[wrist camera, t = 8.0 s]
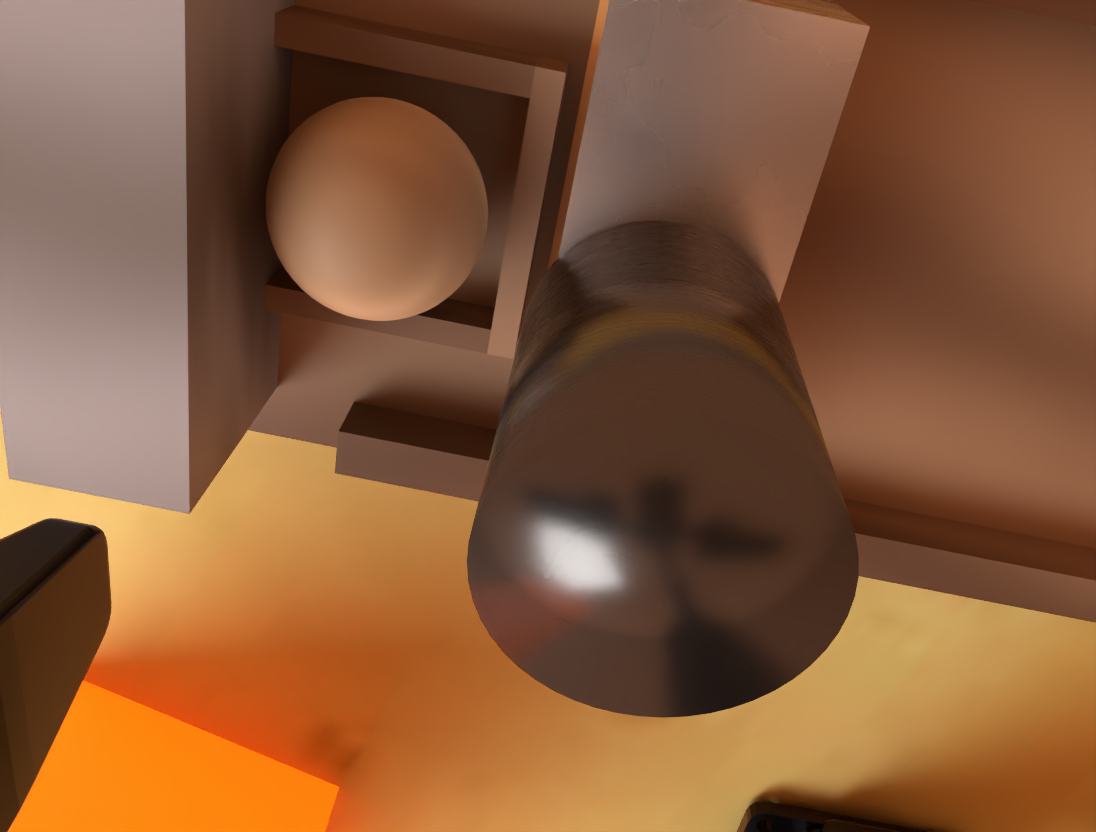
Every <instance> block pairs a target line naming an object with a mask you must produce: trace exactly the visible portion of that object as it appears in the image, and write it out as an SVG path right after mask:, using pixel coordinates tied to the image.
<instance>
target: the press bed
mask: <svg viewBox="0 0 1096 832" xmlns="http://www.w3.org/2000/svg"><path fill="white" fill-rule="evenodd" d="M831 1H833V2H834V3H836V4H837V5H839V6H840V7H842V8H843V9H845V10H846V11H848V12H849V13H851V14H852V15H854V16H855V17H857V18H858V19H860V20H861V21H863V22H864V23H866V24H867V25H869V26H870V29H869V32H868V35H867V38H866V41H865V44H864V47H863V50H862V53H861V56H860V59H859V62H858V65H857V68H856V71H855V74H854V77H853V80H852V83H851V86H850V89H849V92H848V95H847V98H846V101H845V104H844V107H843V110H842V113H841V116H840V119H839V122H838V125H837V128H836V132H835V135H834V138H833V141H832V144H831V147H830V150H829V153H828V156H827V159H826V162H825V165H824V168H823V171H822V174H821V177H820V180H819V183H818V186H817V189H816V192H815V195H814V198H813V201H812V204H811V207H810V210H809V213H808V216H807V219H806V222H805V225H804V228H803V231H802V234H801V237H800V240H799V243H798V246H797V249H796V252H795V255H794V258H793V261H792V264H791V267H790V271H789V274H788V277H787V280H786V283H785V286H784V289H783V292H782V295H781V298H780V301H779V306H780V309H781V312H782V315H783V318H784V321H785V324H786V327H787V330H788V333H789V336H790V339H791V342H792V345H793V348H794V351H795V354H796V357H797V360H798V363H799V366H800V369H801V372H802V375H803V378H804V381H805V384H806V387H807V390H808V393H809V396H810V399H811V402H812V405H813V408H814V411H815V414H816V417H817V420H818V423H819V426H820V429H821V432H822V435H823V438H824V441H825V445H826V448H827V451H828V454H829V457H830V460H831V463H832V466H833V469H834V472H835V475H836V478H837V481H838V484H839V487H840V490H841V493H842V496H843V499H844V502H845V505H846V508H847V511H848V514H849V517H850V520H851V523H852V526H853V529H854V532H855V535H856V542H857V548H858V554H859V574H858V576H862V577H867V578H872V579H877V580H882V581H887V582H892V583H897V584H903V585H908V586H913V587H918V588H923V589H928V590H933V591H938V592H943V593H948V594H953V595H959V596H964V597H969V598H974V599H979V600H984V601H989V602H994V603H999V604H1004V605H1010V606H1015V607H1020V608H1025V609H1030V610H1035V611H1040V612H1045V613H1050V614H1055V615H1060V616H1066V617H1071V618H1076V619H1081V620H1086V621H1091V622H1096V0H831ZM608 4H609V0H0V408H1V416H2V424H3V432H4V440H5V449H6V457H7V465H8V473H9V479H13V480H18V481H24V482H29V483H34V484H39V485H44V486H49V487H54V488H60V489H65V490H70V491H75V492H80V493H85V494H90V495H95V496H101V497H106V498H111V499H116V500H121V501H126V502H131V503H137V504H142V505H147V506H152V507H157V508H162V509H167V510H173V511H178V512H183V513H188V514H190V512H191V511H192V509H193V508H194V507H195V505H196V504H197V502H198V501H199V499H200V498H201V496H202V495H203V494H204V492H205V491H206V489H207V488H208V486H209V485H210V483H211V482H212V481H213V479H214V478H215V476H216V475H217V473H218V472H219V470H220V469H221V468H222V466H223V465H224V463H225V462H226V460H227V459H228V457H229V456H230V455H231V453H232V452H233V450H234V449H235V447H236V446H237V444H238V443H239V442H240V440H241V439H242V437H243V436H244V434H245V433H246V431H247V430H251V431H256V432H261V433H266V434H271V435H276V436H281V437H286V438H291V439H297V440H302V441H307V442H312V443H317V444H322V445H327V446H332V447H337V455H336V467H335V473H337V474H342V475H347V476H352V477H358V478H363V479H368V480H373V481H378V482H383V483H388V484H393V485H398V486H403V487H408V488H414V489H419V490H424V491H429V492H434V493H439V494H444V495H449V496H454V497H459V498H465V499H470V500H475V501H479V499H480V495H481V491H482V486H483V482H484V478H485V474H486V470H487V466H488V462H489V458H490V454H491V450H492V446H493V442H494V438H495V434H496V430H497V426H498V422H499V418H500V414H501V410H502V406H503V402H504V398H505V393H506V389H507V385H508V381H509V377H510V373H511V369H512V365H513V361H514V357H515V353H516V349H517V345H518V341H519V337H520V333H521V329H522V325H523V321H524V317H525V313H526V309H527V306H528V303H529V301H530V298H531V296H532V294H533V291H534V290H535V288H536V286H537V284H538V283H539V281H540V279H541V278H542V276H543V275H544V274H545V273H546V271H547V270H548V269H549V268H550V266H551V265H552V264H553V263H554V262H555V261H556V260H557V259H558V256H559V251H560V246H561V241H562V236H563V231H564V226H565V221H566V216H567V211H568V206H569V201H570V196H571V191H572V186H573V181H574V176H575V171H576V165H577V160H578V155H579V150H580V145H581V140H582V135H583V130H584V125H585V120H586V115H587V110H588V105H589V100H590V95H591V90H592V85H593V80H594V75H595V70H596V65H597V60H598V55H599V50H600V45H601V40H602V35H603V30H604V25H605V20H606V15H607V10H608ZM361 97H384V98H392V99H397V100H401V101H405V102H408V103H411V104H413V105H416V106H418V107H421V108H423V109H425V110H426V111H428V112H430V113H432V114H433V115H435V116H436V117H438V118H439V119H440V120H442V121H443V122H444V123H446V124H447V125H448V126H449V127H450V128H451V129H452V130H453V131H454V132H455V133H456V134H457V135H458V136H459V137H460V138H461V140H462V141H463V142H464V143H465V144H466V146H467V147H468V149H469V151H470V152H471V154H472V155H473V157H474V159H475V161H476V163H477V165H478V167H479V170H480V172H481V175H482V178H483V182H484V185H485V190H486V196H487V201H488V223H487V231H486V236H485V240H484V244H483V248H482V250H481V253H480V256H479V258H478V260H477V262H476V264H475V266H474V267H473V269H472V271H471V273H470V274H469V276H468V277H467V278H466V280H465V281H464V282H463V283H462V285H461V286H460V287H459V288H458V289H457V290H456V291H455V292H454V293H453V294H452V295H450V296H449V297H448V298H446V299H445V300H444V301H442V302H441V303H440V304H438V305H437V306H435V307H433V308H431V309H429V310H428V311H425V312H423V313H420V314H417V315H415V316H411V317H407V318H403V319H399V320H390V321H372V320H364V319H358V318H354V317H350V316H346V315H344V314H341V313H338V312H336V311H333V310H331V309H330V308H328V307H326V306H324V305H322V304H321V303H319V302H318V301H316V300H315V299H313V298H312V297H311V296H309V295H308V294H307V293H306V292H305V291H303V290H302V289H301V288H300V287H299V286H298V284H297V283H296V282H295V281H294V280H293V279H292V278H291V276H290V275H289V274H288V272H287V271H286V270H285V268H284V266H283V265H282V263H281V261H280V259H279V258H278V256H277V253H276V251H275V249H274V247H273V244H272V241H271V238H270V235H269V231H268V226H267V220H266V190H267V183H268V179H269V175H270V172H271V169H272V167H273V164H274V162H275V159H276V157H277V154H278V153H279V151H280V149H281V148H282V146H283V144H284V143H285V141H286V140H287V139H288V138H289V136H290V135H291V134H292V133H293V132H294V131H295V129H296V128H297V127H298V126H300V125H301V124H302V123H303V122H304V121H305V120H306V119H307V118H309V117H310V116H312V115H314V114H315V113H317V112H318V111H320V110H322V109H324V108H326V107H328V106H331V105H333V104H335V103H338V102H341V101H345V100H348V99H354V98H361Z"/></svg>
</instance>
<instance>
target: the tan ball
mask: <svg viewBox="0 0 1096 832" xmlns="http://www.w3.org/2000/svg"><path fill="white" fill-rule="evenodd" d="M266 220H267V226H268V231H269V235H270V238H271V241H272V244H273V247H274V249H275V251H276V253H277V256H278V258H279V259H280V261H281V263H282V265H283V266H284V268H285V270H286V271H287V272H288V274H289V275H290V276H291V278H292V279H293V280H294V281H295V282H296V283H297V284H298V286H299V287H300V288H301V289H302V290H303V291H305V292H306V293H307V294H308V295H309V296H311V297H312V298H313V299H315V300H316V301H318V302H319V303H321V304H322V305H324V306H326V307H328V308H330V309H331V310H333V311H336V312H338V313H341V314H344V315H346V316H350V317H354V318H358V319H364V320H372V321H390V320H399V319H403V318H407V317H411V316H415V315H417V314H420V313H423V312H425V311H428V310H429V309H431V308H433V307H435V306H437V305H438V304H440V303H441V302H442V301H444V300H445V299H446V298H448V297H449V296H450V295H452V294H453V293H454V292H455V291H456V290H457V289H458V288H459V287H460V286H461V285H462V283H463V282H464V281H465V280H466V278H467V277H468V276H469V274H470V273H471V271H472V269H473V267H474V266H475V264H476V262H477V260H478V258H479V256H480V253H481V250H482V248H483V244H484V240H485V236H486V231H487V223H488V201H487V196H486V190H485V185H484V182H483V178H482V175H481V172H480V170H479V167H478V165H477V163H476V161H475V159H474V157H473V155H472V154H471V152H470V151H469V149H468V147H467V146H466V144H465V143H464V142H463V141H462V140H461V138H460V137H459V136H458V135H457V134H456V133H455V132H454V131H453V130H452V129H451V128H450V127H449V126H448V125H447V124H446V123H444V122H443V121H442V120H440V119H439V118H438V117H436V116H435V115H433V114H432V113H430V112H428V111H426V110H425V109H423V108H421V107H418V106H416V105H413V104H411V103H408V102H405V101H401V100H397V99H392V98H384V97H361V98H354V99H348V100H345V101H341V102H338V103H335V104H333V105H331V106H328V107H326V108H324V109H322V110H320V111H318V112H317V113H315V114H314V115H312V116H310V117H309V118H307V119H306V120H305V121H304V122H303V123H302V124H301V125H300V126H298V127H297V128H296V129H295V131H294V132H293V133H292V134H291V135H290V136H289V138H288V139H287V140H286V141H285V143H284V144H283V146H282V148H281V149H280V151H279V153H278V154H277V157H276V159H275V162H274V164H273V167H272V169H271V172H270V175H269V179H268V183H267V190H266Z"/></svg>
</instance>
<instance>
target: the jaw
mask: <svg viewBox="0 0 1096 832" xmlns="http://www.w3.org/2000/svg"><path fill="white" fill-rule="evenodd" d="M869 29H870V26H869V25H867V24H866V23H864V22H863V21H861V20H860V19H858V18H857V17H855V16H854V15H852V14H851V13H849V12H848V11H846V10H845V9H843V8H842V7H840V6H839V5H837V4H836V3H834V2H833V1H831V0H609V4H608V10H607V15H606V20H605V25H604V30H603V35H602V40H601V45H600V50H599V55H598V60H597V65H596V70H595V75H594V80H593V85H592V90H591V95H590V100H589V105H588V110H587V115H586V120H585V125H584V130H583V135H582V140H581V145H580V150H579V155H578V160H577V165H576V171H575V176H574V181H573V186H572V191H571V196H570V201H569V206H568V211H567V216H566V221H565V226H564V231H563V236H562V241H561V246H560V251H559V256H558V259H557V260H556V261H555V262H554V263H553V264H552V265H551V266H550V268H549V269H548V270H547V271H546V273H545V274H544V275H543V276H542V278H541V279H540V281H539V283H538V284H537V286H536V288H535V290H534V291H533V294H532V296H531V298H530V301H529V303H528V306H527V309H526V313H525V317H524V321H523V325H522V329H521V333H520V337H519V341H518V345H517V349H516V353H515V357H514V361H513V365H512V369H511V373H510V377H509V381H508V385H507V389H506V393H505V398H504V402H503V406H502V410H501V414H500V418H499V422H498V426H497V430H496V434H495V438H494V442H493V446H492V450H491V454H490V458H489V462H488V466H487V470H486V474H485V478H484V482H483V486H482V491H481V495H480V499H479V503H478V507H477V511H476V515H475V519H474V523H473V527H472V531H471V535H470V539H469V546H468V556H467V568H468V581H469V586H470V590H471V594H472V598H473V602H474V604H475V607H476V609H477V611H478V614H479V616H480V619H481V620H482V622H483V624H484V626H485V627H486V629H487V631H488V632H489V634H490V636H491V637H492V638H493V640H494V641H495V642H496V643H497V645H498V646H499V647H500V648H501V650H502V651H503V652H504V653H505V654H506V655H507V656H508V657H509V658H510V659H511V660H512V661H513V662H514V663H515V664H516V665H517V666H518V667H519V668H521V669H522V670H523V671H525V672H526V673H527V674H529V675H530V676H531V677H533V678H534V679H535V680H537V681H538V682H540V683H542V684H543V685H545V686H547V687H548V688H550V689H552V690H553V691H555V692H558V693H560V694H562V695H564V696H566V697H568V698H570V699H573V700H575V701H578V702H581V703H584V704H587V705H589V706H592V707H595V708H599V709H603V710H608V711H612V712H616V713H622V714H629V715H636V716H647V717H682V716H692V715H699V714H707V713H712V712H716V711H720V710H725V709H729V708H733V707H736V706H738V705H741V704H744V703H747V702H750V701H753V700H755V699H757V698H760V697H762V696H764V695H766V694H768V693H770V692H772V691H774V690H776V689H778V688H779V687H781V686H783V685H784V684H786V683H788V682H789V681H791V680H792V679H794V678H795V677H796V676H798V675H799V674H800V673H802V672H803V671H804V670H805V669H807V668H808V667H809V666H810V665H811V664H812V663H813V662H814V661H815V660H816V659H817V658H818V657H819V656H820V655H821V654H822V653H823V652H824V651H825V650H826V649H827V648H828V646H829V645H830V644H831V642H832V641H833V640H834V638H835V637H836V636H837V634H838V633H839V631H840V629H841V627H842V625H843V623H844V622H845V620H846V618H847V616H848V614H849V611H850V608H851V605H852V603H853V600H854V597H855V592H856V587H857V581H858V574H859V554H858V548H857V542H856V535H855V532H854V529H853V526H852V523H851V520H850V517H849V514H848V511H847V508H846V505H845V502H844V499H843V496H842V493H841V490H840V487H839V484H838V481H837V478H836V475H835V472H834V469H833V466H832V463H831V460H830V457H829V454H828V451H827V448H826V445H825V441H824V438H823V435H822V432H821V429H820V426H819V423H818V420H817V417H816V414H815V411H814V408H813V405H812V402H811V399H810V396H809V393H808V390H807V387H806V384H805V381H804V378H803V375H802V372H801V369H800V366H799V363H798V360H797V357H796V354H795V351H794V348H793V345H792V342H791V339H790V336H789V333H788V330H787V327H786V324H785V321H784V318H783V315H782V312H781V309H780V306H779V301H780V298H781V295H782V292H783V289H784V286H785V283H786V280H787V277H788V274H789V271H790V267H791V264H792V261H793V258H794V255H795V252H796V249H797V246H798V243H799V240H800V237H801V234H802V231H803V228H804V225H805V222H806V219H807V216H808V213H809V210H810V207H811V204H812V201H813V198H814V195H815V192H816V189H817V186H818V183H819V180H820V177H821V174H822V171H823V168H824V165H825V162H826V159H827V156H828V153H829V150H830V147H831V144H832V141H833V138H834V135H835V132H836V128H837V125H838V122H839V119H840V116H841V113H842V110H843V107H844V104H845V101H846V98H847V95H848V92H849V89H850V86H851V83H852V80H853V77H854V74H855V71H856V68H857V65H858V62H859V59H860V56H861V53H862V50H863V47H864V44H865V41H866V38H867V35H868V32H869Z"/></svg>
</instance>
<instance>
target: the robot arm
mask: <svg viewBox="0 0 1096 832" xmlns="http://www.w3.org/2000/svg"><path fill="white" fill-rule="evenodd" d="M110 615H111V590H110V576H109V561H108V547H107V540H106V537H105V535H104V532H103V531H102V530H101V529H99V528H98V527H96V526H93V525H88V524H83V523H78V522H73V521H68V520H62V519H52V518H50V519H45V520H42V521H39V522H37V523H35V524H33V525H30V526H28V527H26V528H24V529H22V530H20V531H17V532H15V533H13V534H11V535H9V536H7V537H4V538H2V539H0V832H8V831H9V829H10V827H11V826H12V824H13V822H14V820H15V819H16V817H17V815H18V813H19V812H20V810H21V808H22V806H23V804H24V802H25V800H26V798H27V796H28V794H29V792H30V790H31V788H32V786H33V784H34V782H35V780H36V778H37V776H38V774H39V772H40V770H41V768H42V766H43V763H44V761H45V759H46V757H47V755H48V753H49V751H50V749H51V747H52V745H53V743H54V740H55V738H56V736H57V734H58V732H59V730H60V728H61V726H62V724H63V722H64V719H65V717H66V715H67V713H68V711H69V709H70V707H71V705H72V703H73V701H74V699H75V696H76V694H77V692H78V690H79V688H80V686H81V684H82V682H83V680H84V678H85V676H86V673H87V671H88V669H89V667H90V665H91V663H92V661H93V659H94V657H95V655H96V652H97V650H98V648H99V646H100V644H101V642H102V640H103V638H104V635H105V633H106V630H107V627H108V624H109V620H110ZM737 832H925V831H919V830H914V829H909V828H904V827H898V826H893V825H888V824H883V823H878V822H872V821H867V820H862V819H857V818H851V817H846V816H841V815H836V814H830V813H825V812H820V811H815V810H809V809H804V808H799V807H794V806H788V805H783V804H778V803H773V802H763V801H762V802H757V803H754V804H752V805H750V806H749V807H748V809H747V810H746V812H745V815H744V817H743V819H742V821H741V824H740V826H739V828H738V830H737Z"/></svg>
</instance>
